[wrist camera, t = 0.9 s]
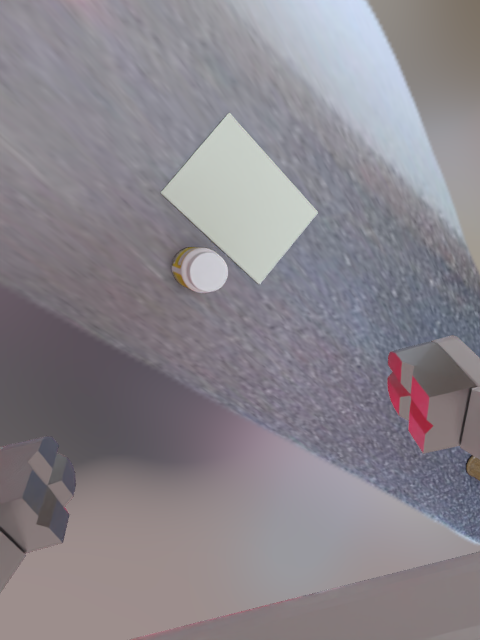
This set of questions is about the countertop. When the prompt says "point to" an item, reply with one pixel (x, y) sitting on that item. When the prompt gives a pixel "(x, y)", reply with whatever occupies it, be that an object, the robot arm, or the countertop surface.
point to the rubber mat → (240, 199)
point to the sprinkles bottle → (474, 467)
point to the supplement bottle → (199, 269)
